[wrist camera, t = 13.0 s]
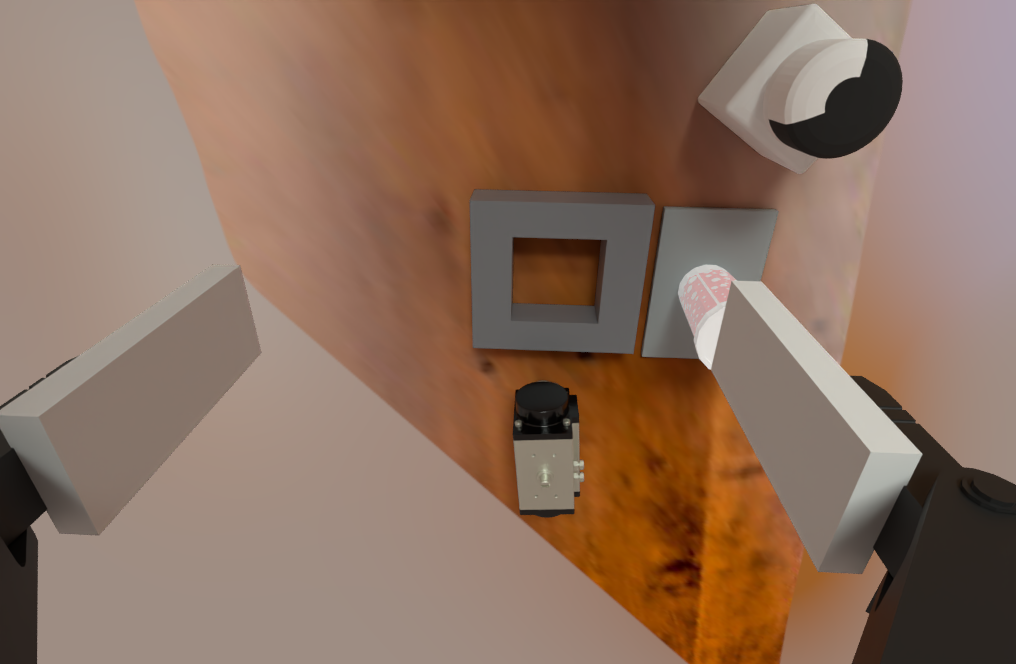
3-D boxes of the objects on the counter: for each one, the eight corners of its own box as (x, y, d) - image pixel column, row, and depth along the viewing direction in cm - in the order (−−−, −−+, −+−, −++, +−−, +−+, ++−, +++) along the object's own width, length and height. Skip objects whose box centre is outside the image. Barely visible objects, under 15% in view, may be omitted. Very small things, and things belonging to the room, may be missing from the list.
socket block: (474, 189, 44) (469, 200, 40) (646, 193, 43) (655, 205, 40) (476, 329, 50) (472, 347, 47) (627, 334, 49) (633, 353, 46)
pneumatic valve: (523, 444, 56) (520, 537, 46) (516, 348, 51) (510, 429, 40) (576, 443, 56) (585, 536, 45) (574, 346, 50) (584, 427, 40)
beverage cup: (686, 331, 48) (737, 431, 36) (657, 278, 46) (701, 364, 34) (752, 300, 46) (830, 392, 34) (725, 242, 44) (799, 320, 32)
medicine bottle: (838, 72, 38) (952, 84, 28) (762, 156, 41) (839, 196, 31) (768, 7, 37) (861, -7, 26) (694, 99, 40) (751, 120, 29)
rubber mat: (663, 206, 43) (665, 208, 43) (775, 209, 43) (778, 211, 43) (640, 353, 50) (641, 356, 50) (737, 356, 50) (739, 360, 49)
